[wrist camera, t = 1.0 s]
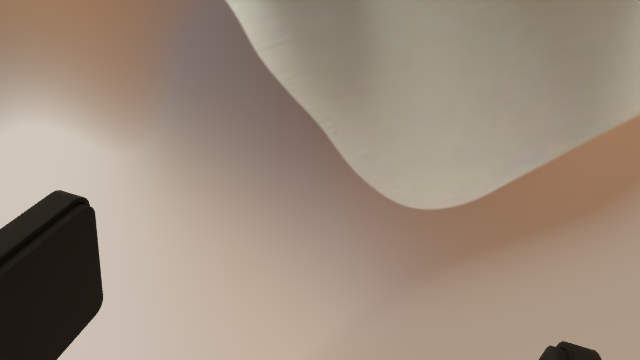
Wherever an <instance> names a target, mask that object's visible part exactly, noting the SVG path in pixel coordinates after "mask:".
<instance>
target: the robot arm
mask: <svg viewBox="0 0 640 360" xmlns="http://www.w3.org/2000/svg"><path fill="white" fill-rule="evenodd" d="M102 301H103V291H102V281H101V271H100V261H99V250H98V239H97V229H96V218H95V211H94V209H93V208H92V207H90V205H89V201H88V200H87V199H86V198H84V197H80V196H77V195H74V194H71V193H67V192H64V191H61V190H59V191H54V192H53V193H51V194H49V195H48V196H46V197H45V198H44V199H42V200H41V201H39V202H38V203H37V204H35V205H34V206H32V207H31V208H30V209H28V210H27V211H25V212H24V213H22V214H21V215H20V216H18V217H17V218H15V219H14V220H13V221H11V222H10V223H9V224H7V225H6V226H4V227H3V228H1V229H0V360H57V359H58V357H59V356H60V355H61V354H62V353H63V352H64V350H66V348H67V347H68V346H69V345H70V344H71V343H72V342H73V340H74V339H75V338H76V337H77V336H78V335H79V334H80V332H81V331H82V330H83V329H84V328H85V327H86V326H87V324H88V323H89V322H90V321H91V320H92V319H93V318H94V316H95V315H96V314H97V313H98V311H99V309H100V307H101V305H102ZM539 360H601V358H600V356H599V354H598V353H597V352H596V351H595V350H591V349H588V348H584V347H581V346H578V345H575V344H571V343H568V342H563V341H562V342H561V343H559V344H558V345H557V346H556V347H553V346H549V347H547V348H546V349H545V351H544V353H543V354H542V356H541V357H540V359H539Z"/></svg>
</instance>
